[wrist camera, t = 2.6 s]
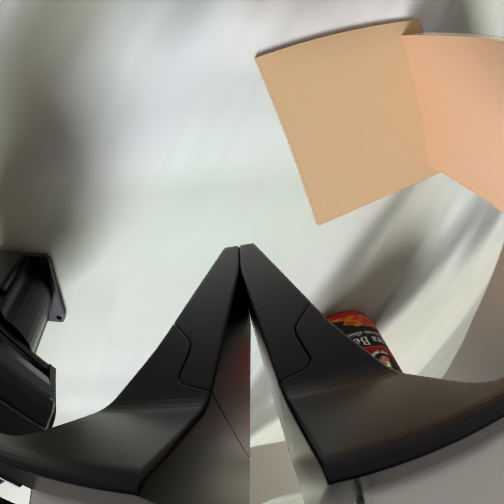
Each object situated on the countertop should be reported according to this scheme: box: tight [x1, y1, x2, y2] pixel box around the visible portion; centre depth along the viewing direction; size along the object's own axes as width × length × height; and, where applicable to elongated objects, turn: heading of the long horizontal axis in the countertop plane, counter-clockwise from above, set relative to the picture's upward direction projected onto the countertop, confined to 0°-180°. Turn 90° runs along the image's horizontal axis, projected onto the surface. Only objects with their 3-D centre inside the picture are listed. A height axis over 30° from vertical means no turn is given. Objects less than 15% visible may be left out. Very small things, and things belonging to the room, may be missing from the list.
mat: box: [255, 20, 440, 226], centre depth 18 cm, size 12×12×1 cm
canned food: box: [327, 311, 403, 373], centre depth 25 cm, size 8×8×11 cm
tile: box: [402, 32, 504, 213], centre depth 14 cm, size 2×10×10 cm, turn 22°
